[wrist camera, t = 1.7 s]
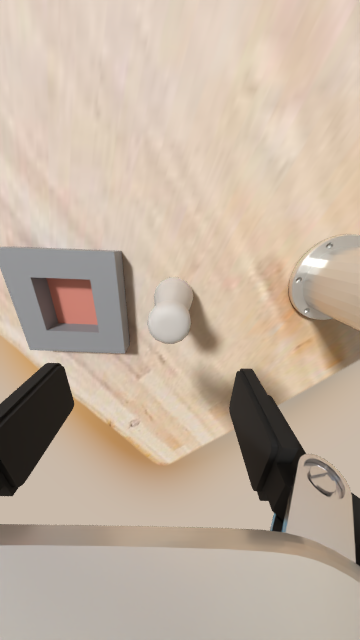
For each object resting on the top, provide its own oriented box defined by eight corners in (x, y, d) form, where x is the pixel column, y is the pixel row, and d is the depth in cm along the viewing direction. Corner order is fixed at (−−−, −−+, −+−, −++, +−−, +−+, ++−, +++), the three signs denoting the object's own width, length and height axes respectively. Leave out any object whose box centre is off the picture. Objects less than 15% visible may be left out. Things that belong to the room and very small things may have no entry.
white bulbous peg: (186, 313, 29) (189, 359, 18) (153, 305, 29) (133, 347, 17) (196, 279, 27) (207, 306, 15) (160, 270, 27) (143, 290, 15)
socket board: (121, 250, 26) (114, 251, 23) (129, 344, 32) (124, 353, 29) (13, 246, 26) (-8, 246, 23) (43, 340, 32) (30, 349, 29)
